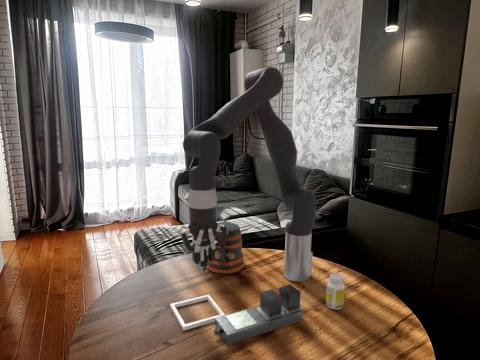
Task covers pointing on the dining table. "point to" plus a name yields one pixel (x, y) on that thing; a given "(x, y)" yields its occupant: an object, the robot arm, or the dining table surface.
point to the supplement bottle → (335, 292)
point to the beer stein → (228, 251)
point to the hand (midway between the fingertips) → (203, 261)
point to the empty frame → (200, 322)
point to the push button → (203, 255)
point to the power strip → (262, 315)
